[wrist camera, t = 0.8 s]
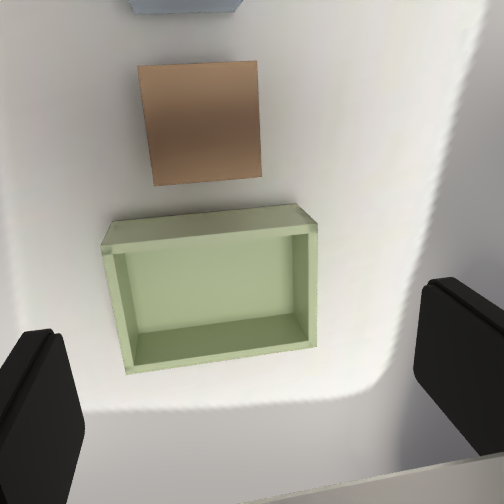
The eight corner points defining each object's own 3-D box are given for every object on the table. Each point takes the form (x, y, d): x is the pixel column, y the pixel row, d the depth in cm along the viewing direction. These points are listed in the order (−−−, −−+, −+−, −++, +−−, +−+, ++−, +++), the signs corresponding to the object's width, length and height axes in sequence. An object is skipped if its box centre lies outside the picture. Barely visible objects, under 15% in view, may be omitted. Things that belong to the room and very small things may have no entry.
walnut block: (145, 71, 26) (137, 66, 20) (240, 67, 27) (257, 60, 21) (158, 167, 28) (154, 186, 23) (245, 160, 29) (261, 176, 23)
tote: (112, 221, 29) (100, 246, 24) (296, 203, 31) (317, 223, 26) (133, 334, 32) (126, 374, 27) (297, 312, 34) (316, 346, 29)
